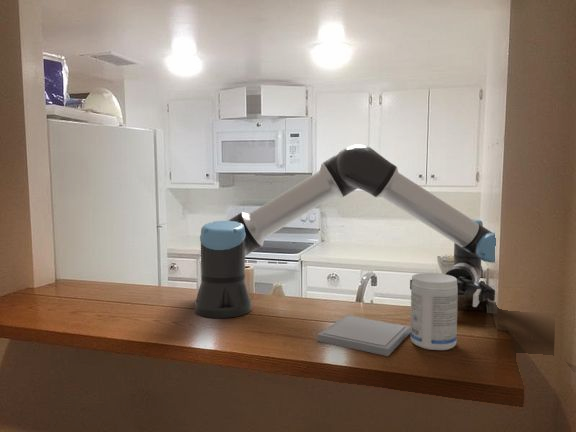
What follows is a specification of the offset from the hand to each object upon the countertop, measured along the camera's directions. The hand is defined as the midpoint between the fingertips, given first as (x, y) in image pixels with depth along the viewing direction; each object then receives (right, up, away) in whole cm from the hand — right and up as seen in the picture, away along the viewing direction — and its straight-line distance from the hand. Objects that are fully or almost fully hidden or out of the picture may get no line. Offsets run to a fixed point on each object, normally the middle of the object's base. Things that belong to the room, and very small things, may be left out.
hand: (443, 296), depth 106 cm
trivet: (-19, -8, -4) cm, 21 cm away
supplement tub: (-5, -9, -7) cm, 13 cm away
